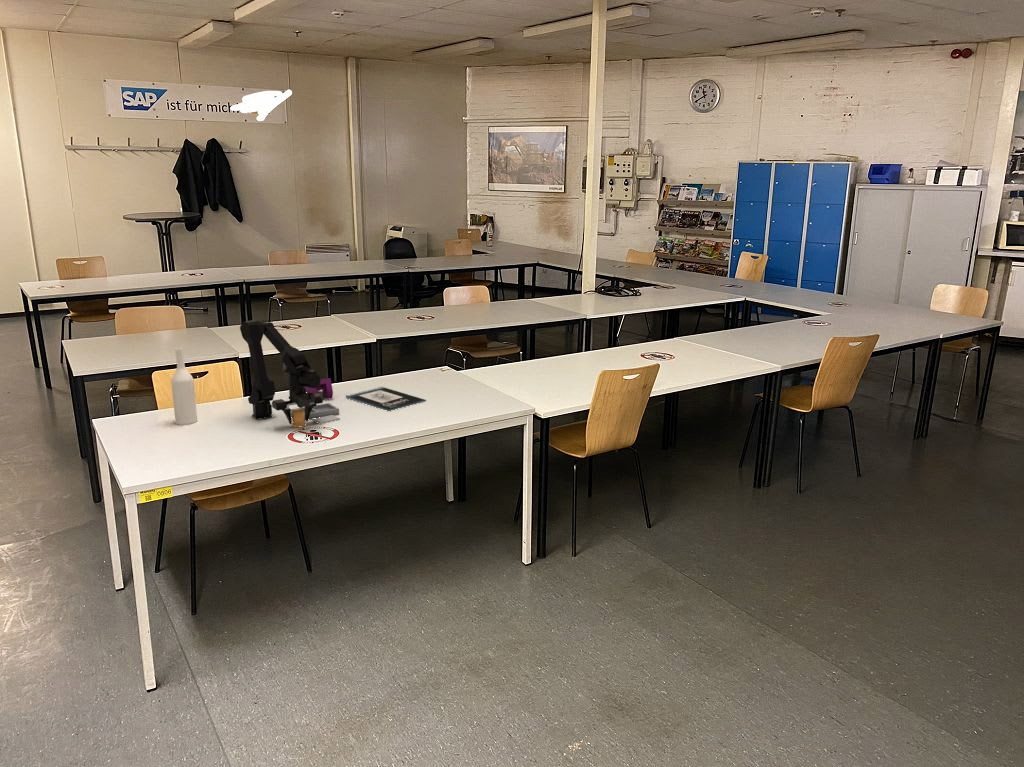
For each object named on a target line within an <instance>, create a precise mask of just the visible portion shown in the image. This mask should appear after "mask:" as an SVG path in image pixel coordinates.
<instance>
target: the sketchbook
mask: <svg viewBox="0 0 1024 767" xmlns="http://www.w3.org/2000/svg"><path fill="white" fill-rule="evenodd" d="M346 398H347V399H346ZM345 399H346V400H349V399H350V400H349V401H352V400H353V401H352V402H355V401H356V403H359V402H360V403H359V404H362V403H364V404H363V405H365V404H367V405H366V406H368V405H370V406H369V407H372V406H373V407H372V408H375V407H376V408H375V409H378V408H380V409H379V410H381V409H383V410H382V411H384V410H387V411H386V412H388V411H390V412H392V411H391V410H394V411H396V410H395V409H397V410H399V409H398V408H401V409H403V408H402V407H404V408H407V407H406V406H408V407H410V405H412V406H414V405H413V404H415V405H418V404H417V403H419V404H422V403H425V401H426V402H427V399H424V398H421V397H418V396H415V395H411V394H408V393H406V392H405V393H404V392H401V391H397V390H394V389H391V388H389V387H384V386H378V387H376V388H371V389H367V390H363V391H358V392H354V393H350V394H346V395H345ZM421 402H422V403H421Z"/></svg>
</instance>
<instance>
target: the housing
mask: <svg viewBox="0 0 1024 767" xmlns="http://www.w3.org/2000/svg"><path fill="white" fill-rule="evenodd" d="M290 409H291V408H290ZM295 409H303V410H304V419H305V407H302V408H299V407H298V408H297V407H296V408H292V409H291V412H290V413H291V417H292V418H293V416H292V411H293V410H295ZM338 414H339V415H340V408H339V407H337V406H336V405H333V404H332V403H329V402H327V403H320V404H317V405H316V406H314V407H313V408H312V410H311V413H310V416H309V419H311V420H313V419H312V418H319V417H325V416H329V415H334V416H337V415H338ZM339 415H338V416H339ZM292 418H291V419H292ZM305 420H306V419H305Z"/></svg>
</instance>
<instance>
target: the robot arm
mask: <svg viewBox="0 0 1024 767" xmlns="http://www.w3.org/2000/svg"><path fill="white" fill-rule="evenodd" d="M239 330H240V333H241V337H242V339H243V340H244V341H245V342H246V343H247V345H248V351H249V356H250V361H251V366H252V371H253V376H254V381H253V383H252V385H251V386H252V389H251V390H252V392H251V394H250V395H249V397H248V398H247V401H248V403H249V404H250V405H252V414H251V416H252V417H253V418H254V417H255V418H254V419H256V420H262V418H263V419H267V417H268V418H272V416H273V409H274V410H275V411H282V412H283V413H284V415H285V417H286V419H287V422H288V423H289V425H292V423H293V419H292V418H291V413H290V412H291V408H290V406H295V405H296V406H297V407H298V408H302V407H305V419H306V421H305V422H309V420H308V419H309V416H310V413H311V410H312V408H313V407H314V406H316V405H320V404H324V403H323V396H321V395H320V394H318V393H317V394H314V393H306V389H305V387H309V388H317V387H318V386H319V385H320V381H321V377H320V375H319V374H318V373H317V371H316V370H314V369H312V367H311V365H310V363H309V361H308V360H307V358H306V356H305V354H304V353H303V352H302V351H301V350H300V349H298V348H296V347H293V346H292V345H291V344H290V343H289V342H288V341H287V340H286V339H285V337H284V336H283V335H282V334H281V333H280V332H279V330H278V329H277V328H276V327H275V325H274V323H273V322H272V321H271V322H270V321H260V320H259V319H253V320H252V319H251V320H247V321H243V322H241V325H239ZM263 336H264V337H265V338H266V339H267V340H268V341H269V343H271V345H272V346H273V347H274V348H275V349H276V350H277V351H278V352H279V354H280V356H281V361H282V363H283V365H285V367H286V368H285V370H283V373H285V374H287V378H288V386H287V389H288V390H289V391H288V392H289V394H288V395H289V396H288V399H289V400H284V399H282V398H281V399H280V398H279V399H274V398H275V395H276V390H277V388H276V386H275V381H274V380H271V379H270V378H269V377H268V372H267V366H266V361H265V356H264V352H263V346H262V340H263ZM271 401H272V402H271Z"/></svg>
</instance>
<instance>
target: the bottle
mask: <svg viewBox="0 0 1024 767" xmlns="http://www.w3.org/2000/svg"><path fill="white" fill-rule="evenodd" d="M184 356H185V355H184V349H183V347H175V357H176V369H175V371H174V373H173V375H172V377H171V379H170V380H171V382H170V383H171V392H172V401H173V411H174V421H175V423H176V425H181V426H182V425H183V426H186V425H192V424H195V423H197V422H198V413H197V411H198V410H197V404H196V402H197V401H196V392H195V383H194V382H195V381H194V377H193V376H192V374H191V373H190V372H189V371H188V369H187V368H186V365H185V358H184Z"/></svg>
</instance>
